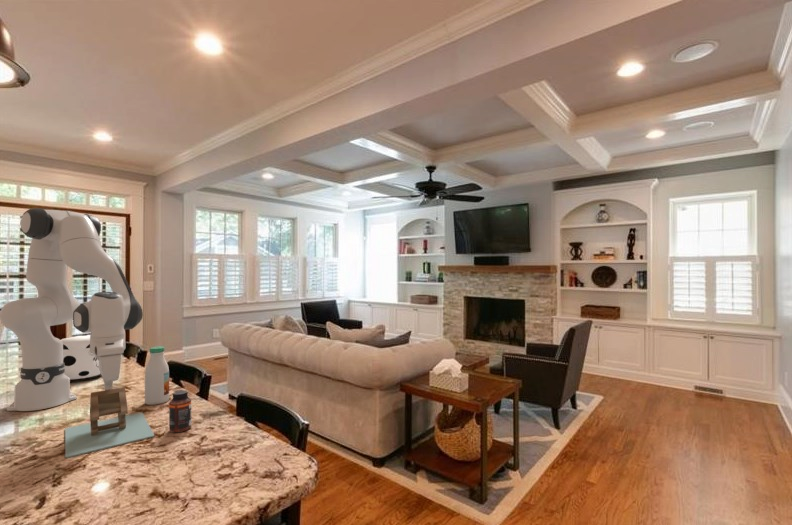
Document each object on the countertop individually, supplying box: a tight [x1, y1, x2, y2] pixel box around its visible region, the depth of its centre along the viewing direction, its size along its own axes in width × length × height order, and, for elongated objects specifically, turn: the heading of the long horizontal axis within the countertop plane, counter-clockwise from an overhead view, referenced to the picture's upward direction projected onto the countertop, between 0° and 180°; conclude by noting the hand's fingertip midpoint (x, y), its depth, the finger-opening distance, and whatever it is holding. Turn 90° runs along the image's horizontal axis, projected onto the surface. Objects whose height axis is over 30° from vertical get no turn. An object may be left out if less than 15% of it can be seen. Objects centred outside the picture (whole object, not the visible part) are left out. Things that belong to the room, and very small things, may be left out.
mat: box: [64, 412, 156, 459], centre depth 118 cm, size 24×20×1 cm
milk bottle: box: [144, 346, 170, 406], centre depth 146 cm, size 8×8×20 cm
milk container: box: [60, 334, 101, 382], centre depth 177 cm, size 17×17×18 cm
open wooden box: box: [89, 386, 129, 436], centre depth 119 cm, size 9×8×8 cm
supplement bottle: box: [168, 389, 192, 433], centre depth 121 cm, size 6×6×11 cm
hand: (108, 390), depth 122 cm, fingers closed
